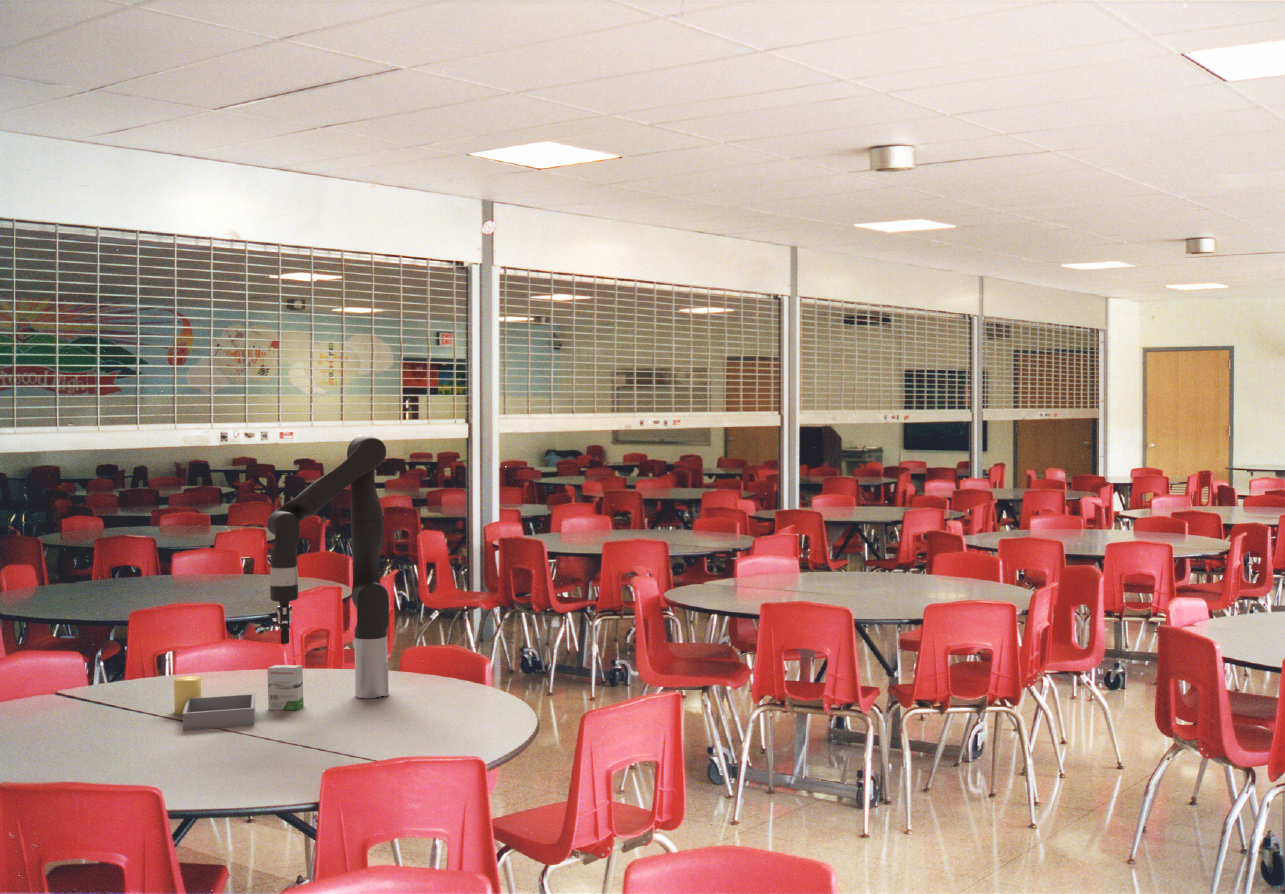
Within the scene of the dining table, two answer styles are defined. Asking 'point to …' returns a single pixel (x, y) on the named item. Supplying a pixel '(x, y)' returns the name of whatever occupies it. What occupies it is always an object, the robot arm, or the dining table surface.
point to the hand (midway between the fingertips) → (284, 640)
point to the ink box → (285, 687)
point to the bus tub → (219, 712)
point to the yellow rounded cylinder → (185, 691)
